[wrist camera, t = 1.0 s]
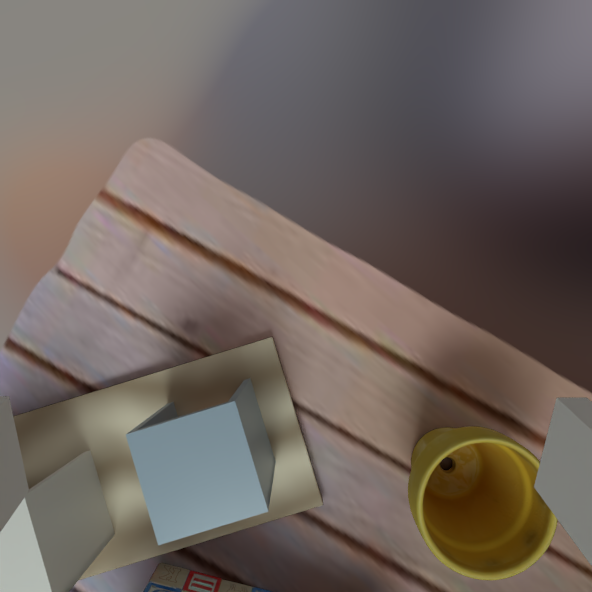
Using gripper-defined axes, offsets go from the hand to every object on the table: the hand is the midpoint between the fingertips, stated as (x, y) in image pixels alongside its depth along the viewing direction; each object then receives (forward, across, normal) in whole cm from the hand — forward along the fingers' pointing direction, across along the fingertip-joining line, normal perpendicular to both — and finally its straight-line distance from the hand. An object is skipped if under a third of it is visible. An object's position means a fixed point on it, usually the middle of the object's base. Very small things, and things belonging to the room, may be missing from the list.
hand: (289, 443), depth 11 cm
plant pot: (+25, -16, +21) cm, 36 cm away
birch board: (+26, +12, +22) cm, 36 cm away
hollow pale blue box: (+26, +5, +19) cm, 32 cm away
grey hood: (+24, +20, +25) cm, 40 cm away
